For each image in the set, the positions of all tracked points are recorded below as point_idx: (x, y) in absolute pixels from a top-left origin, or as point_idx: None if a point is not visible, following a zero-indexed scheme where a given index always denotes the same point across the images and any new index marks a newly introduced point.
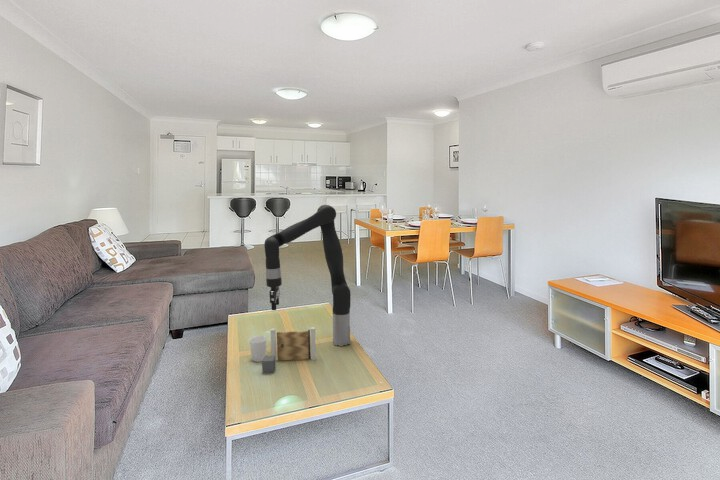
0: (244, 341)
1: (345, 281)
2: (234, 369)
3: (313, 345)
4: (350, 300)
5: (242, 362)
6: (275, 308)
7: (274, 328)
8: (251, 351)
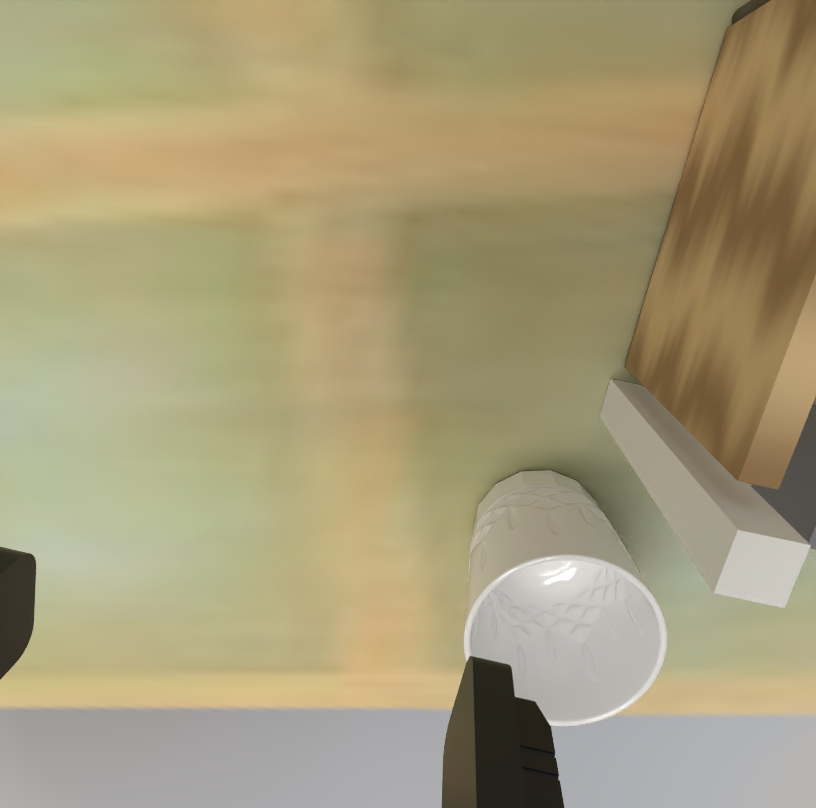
0: (131, 632)
1: None
2: (669, 706)
3: None
4: None
5: None
6: (509, 702)
7: (738, 543)
8: (572, 638)
